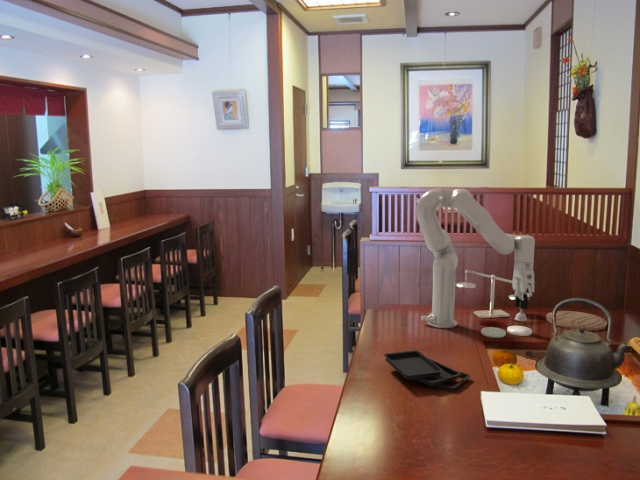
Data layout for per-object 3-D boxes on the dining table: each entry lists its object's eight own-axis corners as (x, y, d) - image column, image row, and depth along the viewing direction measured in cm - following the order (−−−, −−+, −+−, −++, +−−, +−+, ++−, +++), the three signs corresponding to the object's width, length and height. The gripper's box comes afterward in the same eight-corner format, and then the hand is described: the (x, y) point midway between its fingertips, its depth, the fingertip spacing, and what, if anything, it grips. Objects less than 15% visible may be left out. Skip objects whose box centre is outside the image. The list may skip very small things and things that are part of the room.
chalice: (530, 322, 234) (533, 280, 231) (513, 321, 235) (515, 279, 232) (527, 317, 241) (530, 276, 238) (511, 316, 242) (513, 275, 239)
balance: (459, 319, 255) (461, 272, 252) (451, 314, 264) (453, 268, 260) (531, 315, 262) (534, 269, 258) (521, 310, 271) (524, 265, 267)
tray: (474, 374, 195) (475, 360, 194) (456, 401, 174) (457, 385, 174) (393, 359, 209) (393, 345, 208) (367, 382, 189) (368, 367, 188)
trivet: (535, 322, 253) (535, 318, 253) (561, 311, 270) (561, 307, 269) (592, 336, 235) (592, 331, 235) (615, 323, 251) (616, 319, 251)
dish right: (514, 336, 233) (514, 333, 233) (502, 329, 243) (502, 326, 242) (536, 335, 235) (536, 332, 235) (523, 327, 244) (524, 325, 244)
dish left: (487, 338, 231) (488, 335, 231) (476, 330, 240) (477, 327, 240) (510, 336, 233) (510, 334, 232) (498, 329, 242) (498, 326, 242)
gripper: (543, 268, 227) (540, 312, 230) (521, 260, 243) (519, 301, 246) (526, 269, 225) (523, 313, 228) (505, 261, 241) (503, 302, 244)
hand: (521, 307), depth 237 cm, fingers closed on chalice, 3 cm apart
